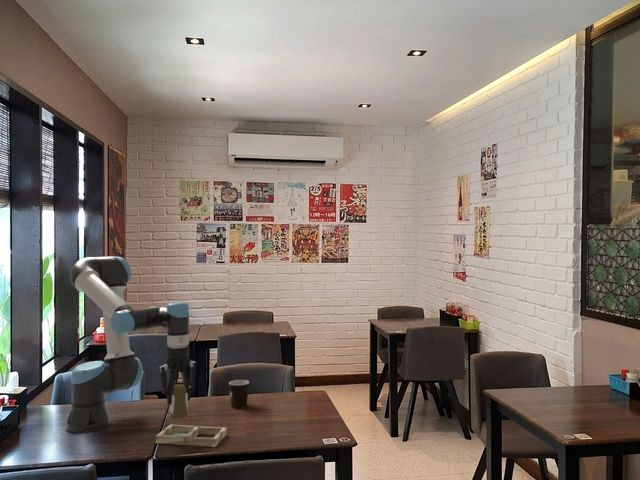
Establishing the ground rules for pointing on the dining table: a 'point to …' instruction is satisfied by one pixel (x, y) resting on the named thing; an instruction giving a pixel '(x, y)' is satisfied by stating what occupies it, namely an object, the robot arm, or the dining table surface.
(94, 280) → the robot arm
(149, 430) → the dining table surface
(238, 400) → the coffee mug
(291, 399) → the dining table surface
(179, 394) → the olive condiment shaker
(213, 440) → the condiment rack
